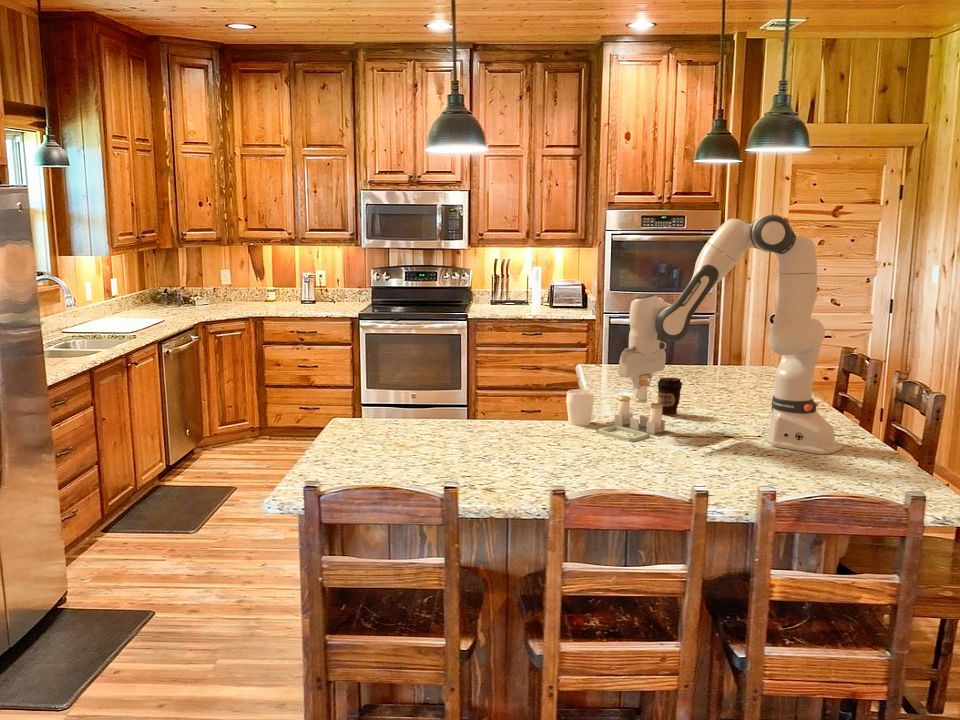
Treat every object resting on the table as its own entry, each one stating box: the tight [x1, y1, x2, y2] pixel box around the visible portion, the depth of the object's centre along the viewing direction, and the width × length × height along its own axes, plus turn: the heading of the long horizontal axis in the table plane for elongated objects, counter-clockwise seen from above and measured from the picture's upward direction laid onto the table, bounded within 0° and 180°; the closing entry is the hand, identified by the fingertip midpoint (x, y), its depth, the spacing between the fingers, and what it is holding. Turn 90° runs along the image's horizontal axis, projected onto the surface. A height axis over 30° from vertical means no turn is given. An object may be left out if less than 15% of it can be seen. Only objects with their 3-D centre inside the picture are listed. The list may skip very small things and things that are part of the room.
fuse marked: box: [635, 374, 648, 404], centre depth 277 cm, size 4×4×9 cm
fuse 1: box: [617, 395, 631, 425], centre depth 284 cm, size 4×4×9 cm
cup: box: [565, 388, 595, 427], centre depth 285 cm, size 9×9×12 cm
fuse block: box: [605, 411, 675, 438], centre depth 280 cm, size 22×8×5 cm, turn 42°
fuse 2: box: [649, 402, 663, 433], centre depth 274 cm, size 4×4×9 cm
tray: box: [596, 425, 650, 443], centre depth 271 cm, size 14×9×2 cm, turn 42°
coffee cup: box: [657, 377, 683, 417], centre depth 303 cm, size 9×8×13 cm
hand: (641, 387), depth 277 cm, fingers closed on fuse marked, 4 cm apart
